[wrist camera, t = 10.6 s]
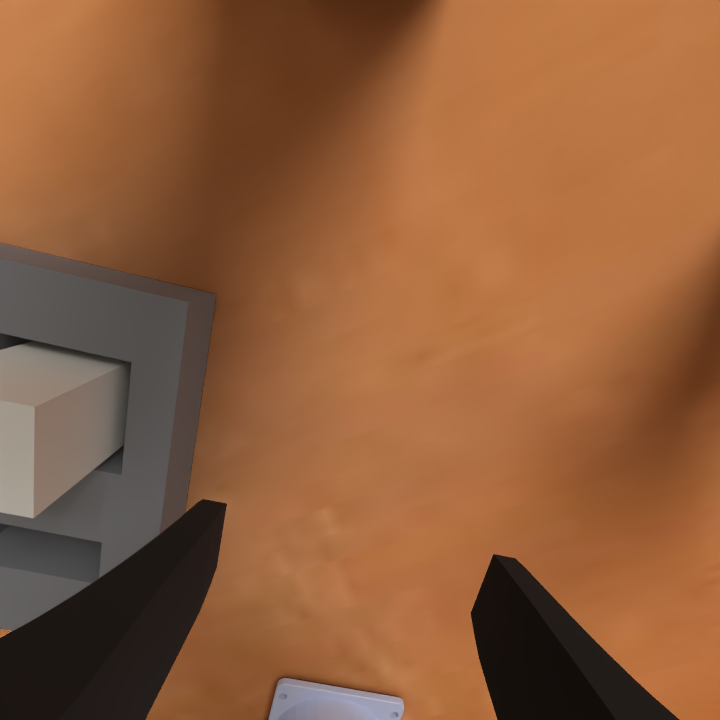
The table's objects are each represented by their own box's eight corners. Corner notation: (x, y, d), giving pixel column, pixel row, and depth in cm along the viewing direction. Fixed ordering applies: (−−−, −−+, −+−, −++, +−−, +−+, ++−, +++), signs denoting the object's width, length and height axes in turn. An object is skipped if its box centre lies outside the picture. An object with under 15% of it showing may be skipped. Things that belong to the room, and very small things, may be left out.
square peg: (146, 426, 19) (33, 518, 13) (65, 409, 19) (-96, 494, 12) (153, 350, 18) (34, 406, 12) (67, 331, 18) (-107, 378, 11)
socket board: (172, 601, 22) (144, 653, 19) (-27, 565, 21) (-87, 613, 18) (216, 294, 18) (188, 302, 15) (-36, 234, 17) (-117, 230, 14)
